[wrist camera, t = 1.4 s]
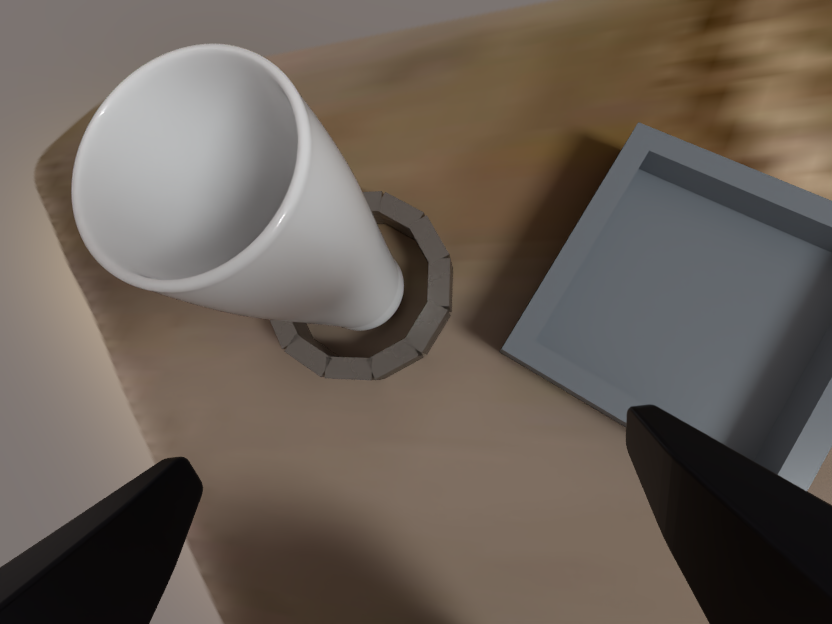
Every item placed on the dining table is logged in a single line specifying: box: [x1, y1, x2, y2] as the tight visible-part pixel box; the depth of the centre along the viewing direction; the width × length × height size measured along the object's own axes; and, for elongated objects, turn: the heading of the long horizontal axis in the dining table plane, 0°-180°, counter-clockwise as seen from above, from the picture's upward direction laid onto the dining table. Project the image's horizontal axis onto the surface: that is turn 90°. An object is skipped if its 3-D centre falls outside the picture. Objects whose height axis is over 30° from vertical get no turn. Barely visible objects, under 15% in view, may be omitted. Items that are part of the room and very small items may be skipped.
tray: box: [500, 122, 832, 491], centre depth 20 cm, size 14×14×2 cm
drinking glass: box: [71, 44, 404, 331], centre depth 17 cm, size 7×7×15 cm
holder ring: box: [270, 191, 453, 380], centre depth 23 cm, size 11×11×2 cm
